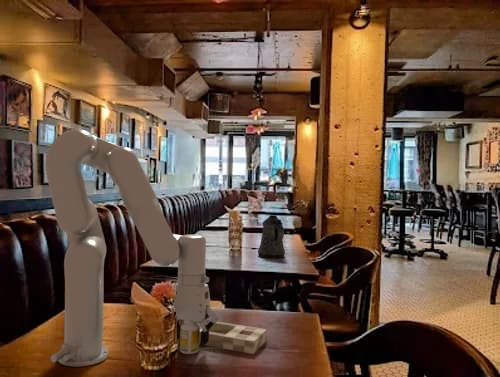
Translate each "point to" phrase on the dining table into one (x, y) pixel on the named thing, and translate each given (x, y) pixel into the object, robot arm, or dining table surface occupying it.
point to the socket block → (236, 337)
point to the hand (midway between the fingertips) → (190, 341)
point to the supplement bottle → (189, 337)
